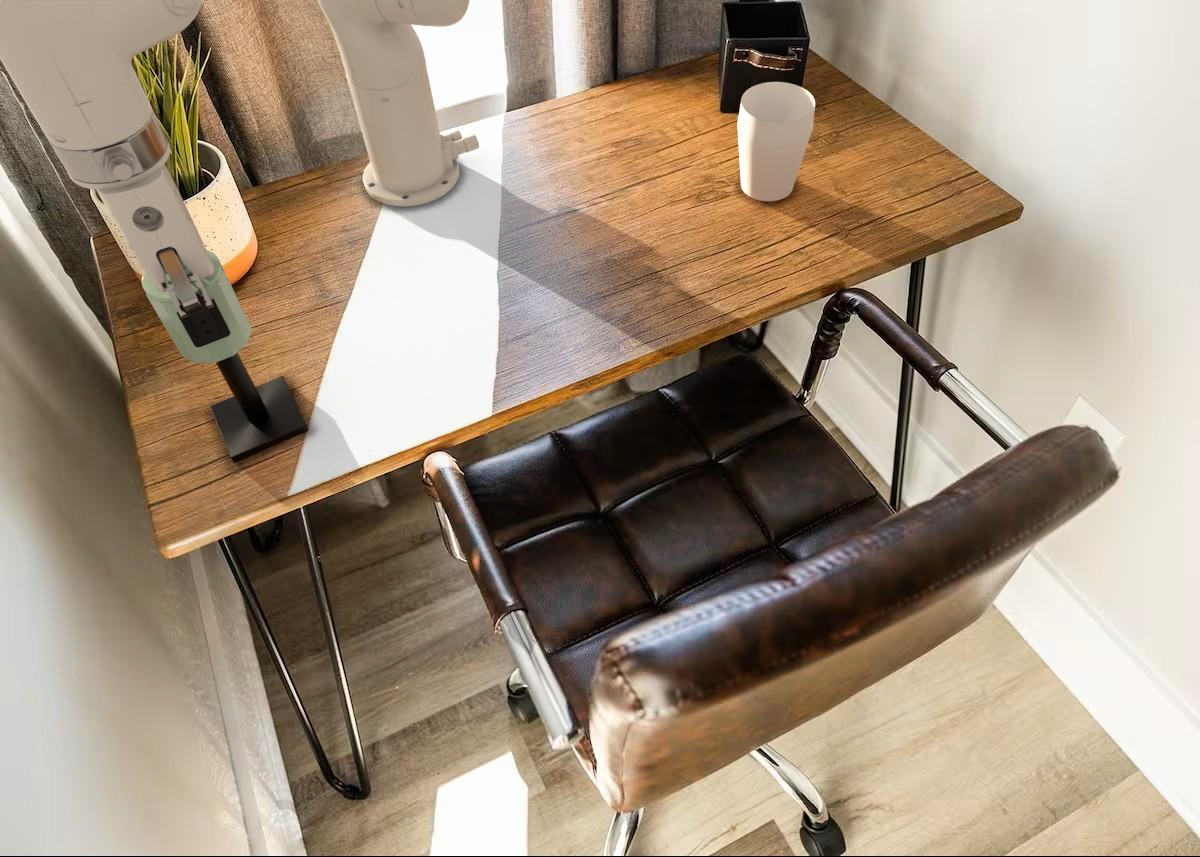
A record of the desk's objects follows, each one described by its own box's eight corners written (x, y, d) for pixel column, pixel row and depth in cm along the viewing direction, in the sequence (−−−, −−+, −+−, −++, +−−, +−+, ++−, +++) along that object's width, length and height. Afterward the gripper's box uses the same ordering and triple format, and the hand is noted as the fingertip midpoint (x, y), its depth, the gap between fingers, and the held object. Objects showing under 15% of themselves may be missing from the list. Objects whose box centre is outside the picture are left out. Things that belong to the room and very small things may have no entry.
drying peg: (285, 381, 97) (239, 285, 86) (309, 430, 93) (265, 336, 82) (212, 411, 95) (156, 317, 84) (234, 463, 90) (177, 371, 79)
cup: (720, 196, 114) (727, 112, 104) (747, 158, 119) (756, 74, 109) (787, 216, 111) (801, 131, 102) (812, 175, 116) (827, 91, 106)
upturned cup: (239, 303, 86) (208, 238, 80) (259, 345, 83) (228, 280, 76) (171, 329, 84) (133, 264, 78) (188, 373, 81) (151, 309, 75)
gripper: (190, 185, 64) (271, 357, 78) (136, 77, 73) (217, 247, 87) (81, 222, 61) (185, 392, 75) (41, 105, 71) (139, 276, 85)
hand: (201, 313), depth 81 cm, fingers closed on upturned cup, 6 cm apart
